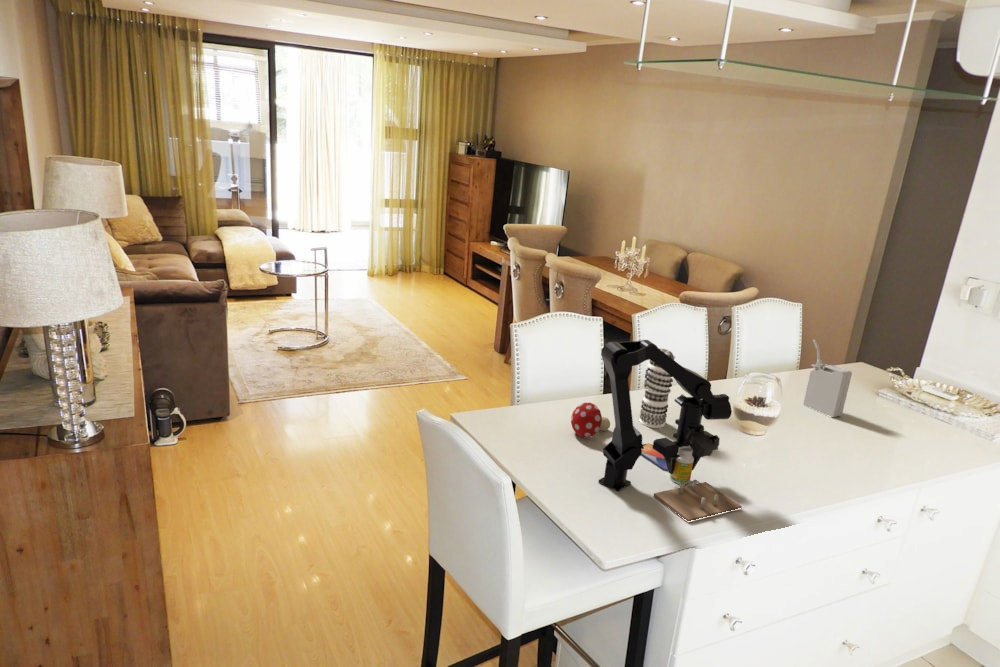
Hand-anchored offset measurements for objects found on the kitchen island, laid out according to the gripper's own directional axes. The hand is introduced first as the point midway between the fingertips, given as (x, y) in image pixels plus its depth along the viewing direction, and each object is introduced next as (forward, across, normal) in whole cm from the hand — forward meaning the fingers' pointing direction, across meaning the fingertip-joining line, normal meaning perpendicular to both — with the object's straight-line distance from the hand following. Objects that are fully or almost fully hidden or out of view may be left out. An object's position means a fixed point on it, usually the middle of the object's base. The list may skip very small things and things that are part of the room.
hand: (681, 471), depth 182 cm
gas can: (+3, +88, +24) cm, 91 cm away
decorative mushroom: (+3, -7, +32) cm, 33 cm away
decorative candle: (+3, +18, +34) cm, 38 cm away
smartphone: (+3, +3, +13) cm, 13 cm away
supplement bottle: (+3, 0, 0) cm, 3 cm away
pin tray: (+2, -4, -11) cm, 12 cm away
